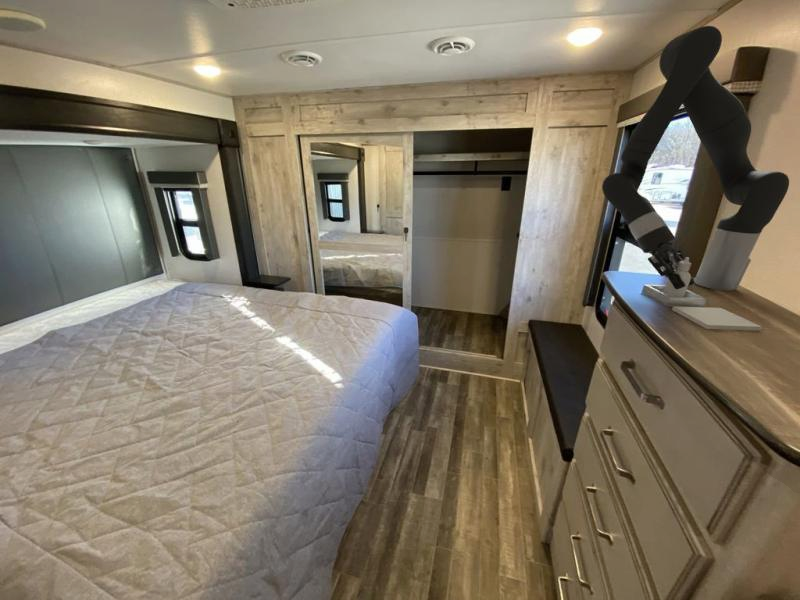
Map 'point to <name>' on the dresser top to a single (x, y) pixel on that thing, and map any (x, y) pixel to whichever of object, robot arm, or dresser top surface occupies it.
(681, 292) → the eye dropper bottle
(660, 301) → the grey square tray
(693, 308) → the cream pad
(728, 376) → the dresser top surface
